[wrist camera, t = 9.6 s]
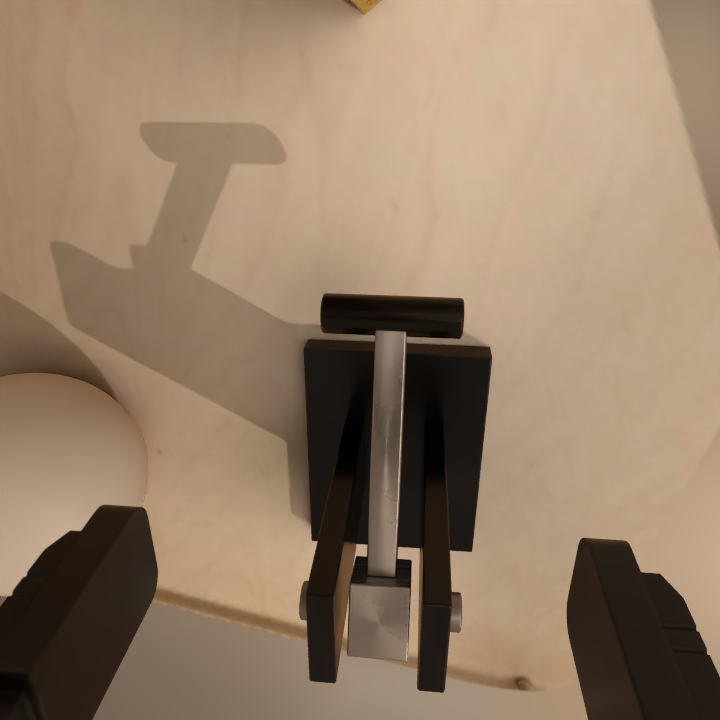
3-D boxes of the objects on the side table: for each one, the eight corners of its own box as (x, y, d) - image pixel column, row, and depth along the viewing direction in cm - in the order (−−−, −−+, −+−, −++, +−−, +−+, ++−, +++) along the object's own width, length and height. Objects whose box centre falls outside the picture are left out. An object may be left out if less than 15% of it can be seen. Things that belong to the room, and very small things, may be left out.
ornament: (-11, 463, 37) (-190, 630, 26) (6, 313, 32) (-204, 441, 22) (156, 521, 38) (47, 707, 27) (194, 382, 33) (82, 538, 22)
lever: (328, 292, 24) (318, 293, 21) (461, 297, 23) (466, 298, 21) (319, 619, 25) (309, 653, 23) (443, 629, 25) (446, 665, 23)
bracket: (308, 339, 31) (238, 502, 20) (490, 346, 31) (526, 521, 19) (314, 526, 37) (263, 741, 25) (470, 537, 36) (490, 763, 24)
